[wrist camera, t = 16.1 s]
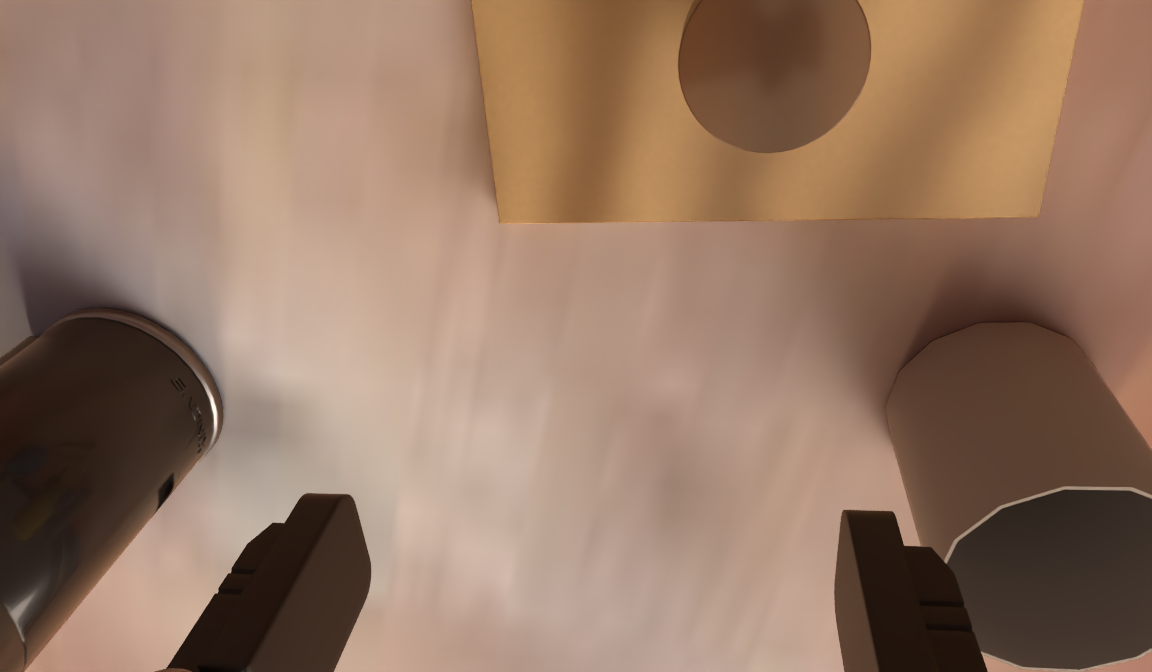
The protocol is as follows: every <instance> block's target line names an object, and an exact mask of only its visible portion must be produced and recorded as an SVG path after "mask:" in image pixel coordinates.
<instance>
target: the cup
mask: <svg viewBox="0 0 1152 672" xmlns="http://www.w3.org/2000/svg"><path fill="white" fill-rule="evenodd" d="M885 409H886V414H887V420H888V425H889V430H890V435H891V440H892V444H893V448H894V451H895V455H896V458H897V462H898V466H899V469H900V473H901V476H902V480H903V484H904V487H905V491H906V494H907V498H908V502H909V505H910V509H911V512H912V516H913V520H914V523H915V527H916V530H917V534H918V538H919V541H920V545H921V547H932V548H933V550H934V551H935V552H936V553H937V554H938V555H939V556H940V557H941V559H942V560H943V561H944V562H945V563H946V564H947V565H948V566H949V568H950V569H951V570H952V571H953V572H954V573H955V576H956V579H957V582H958V585H959V588H960V591H961V594H962V597H963V600H964V607H965V608H966V609H967V612H968V615H969V618H970V621H971V624H972V631H973V632H974V633H975V636H976V639H977V642H978V645H979V648H980V651H981V654H982V655H985V656H987V657H990V658H993V659H995V660H998V661H1001V662H1003V663H1006V664H1008V665H1011V666H1014V667H1016V668H1019V669H1027V670H1047V671H1067V672H1082V671H1087V670H1091V669H1096V668H1100V667H1105V666H1109V665H1113V664H1118V663H1122V662H1127V661H1131V660H1135V659H1139V658H1141V657H1143V656H1144V655H1146V654H1148V653H1150V652H1151V651H1152V449H1151V448H1150V446H1149V445H1148V444H1147V442H1146V441H1145V439H1144V438H1143V436H1142V435H1141V433H1140V432H1139V431H1138V429H1137V428H1136V426H1135V425H1134V423H1133V422H1132V420H1131V419H1130V418H1129V416H1128V415H1127V413H1126V412H1125V410H1124V409H1123V407H1122V406H1121V405H1120V403H1119V402H1118V400H1117V399H1116V397H1115V396H1114V394H1113V393H1112V392H1111V390H1110V389H1109V387H1108V386H1107V384H1106V383H1105V381H1104V380H1103V378H1102V377H1101V376H1100V374H1099V373H1098V371H1097V370H1096V369H1095V367H1094V366H1093V365H1092V364H1091V362H1090V361H1089V360H1088V359H1087V357H1086V356H1085V355H1084V354H1083V352H1082V351H1081V350H1080V349H1079V347H1078V346H1077V345H1076V344H1075V342H1074V341H1073V340H1072V339H1070V338H1068V337H1065V336H1063V335H1060V334H1058V333H1055V332H1053V331H1051V330H1048V329H1046V328H1043V327H1041V326H1038V325H1036V324H1033V323H1031V322H999V323H977V324H975V325H972V326H969V327H967V328H964V329H962V330H959V331H956V332H954V333H951V334H949V335H946V336H943V337H941V338H938V339H936V340H933V341H931V342H930V343H929V344H928V345H927V346H926V347H925V348H924V349H923V350H922V351H921V352H919V353H918V354H917V355H916V356H915V357H914V358H913V359H912V360H911V361H910V362H909V363H907V364H906V365H905V366H904V367H903V368H902V369H901V370H900V371H899V372H898V375H897V378H896V380H895V383H894V385H893V388H892V391H891V393H890V396H889V398H888V401H887V403H886V406H885Z"/></svg>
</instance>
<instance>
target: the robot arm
mask: <svg viewBox="0 0 1152 672" xmlns="http://www.w3.org/2000/svg"><path fill="white" fill-rule="evenodd" d="M222 424H223V408H222V402H221V398H220V395H219V392H218V389H217V387H216V384H215V382H214V380H213V378H212V377H211V375H210V373H209V372H208V370H207V369H206V367H205V366H204V365H203V363H202V362H201V361H200V359H199V358H198V357H197V356H196V355H195V354H194V353H193V352H192V351H191V350H190V349H189V348H188V347H187V346H186V345H185V344H184V343H183V342H182V341H181V340H179V339H178V338H177V337H175V336H174V335H173V334H171V333H170V332H168V331H167V330H165V329H164V328H162V327H160V326H159V325H157V324H155V323H153V322H151V321H149V320H147V319H145V318H142V317H140V316H137V315H134V314H131V313H128V312H124V311H120V310H114V309H107V308H90V309H83V310H79V311H75V312H72V313H70V314H67V315H66V316H64V317H62V318H60V319H59V320H58V321H56V322H55V323H54V324H52V325H51V326H50V327H49V328H47V329H46V330H45V331H44V332H43V333H42V334H41V336H30V337H28V338H27V339H26V340H24V341H23V342H21V343H20V344H19V345H17V346H16V347H15V348H13V349H12V350H11V351H9V352H8V353H7V354H5V355H4V356H2V357H1V358H0V672H25V670H26V669H27V668H28V667H29V665H30V664H31V663H32V662H33V661H34V659H35V658H36V657H37V656H38V655H39V653H40V652H41V651H42V650H43V648H44V647H45V646H46V645H47V644H48V642H49V641H50V640H51V639H52V638H53V636H54V635H55V634H56V633H57V632H58V630H59V629H60V628H61V627H62V625H63V624H64V623H65V622H66V621H67V619H68V618H69V617H70V616H71V615H72V613H73V612H74V611H75V610H76V608H77V607H78V606H79V605H80V604H81V602H82V601H83V600H84V599H85V598H86V596H87V595H88V594H89V593H90V591H91V590H92V589H93V588H94V587H95V585H96V584H97V583H98V582H99V581H100V579H101V578H102V577H103V576H104V575H105V573H106V572H107V571H108V570H109V568H110V567H111V566H112V565H113V564H114V562H115V561H116V560H117V559H118V558H119V556H120V555H121V554H122V553H123V551H124V550H125V549H126V548H127V547H128V545H129V544H130V543H131V542H132V541H133V539H134V538H135V537H136V536H137V534H138V533H139V532H140V531H141V530H142V528H143V527H144V526H145V525H146V524H147V522H148V521H149V520H150V519H151V518H152V516H153V515H154V514H155V513H156V511H157V510H158V509H159V508H160V507H161V505H162V504H163V503H164V502H165V501H166V499H167V498H168V497H169V496H170V495H171V494H172V492H173V491H174V490H175V489H176V487H177V486H178V485H179V484H180V483H181V481H182V480H183V479H184V478H185V477H186V475H187V474H188V473H189V472H190V470H191V469H192V468H193V467H194V466H195V464H197V463H198V462H199V461H201V460H202V459H203V458H204V457H205V456H206V454H207V453H208V452H209V451H210V450H211V448H212V447H213V446H214V444H215V443H216V441H217V440H218V438H219V435H220V432H221V429H222ZM175 492H176V491H175ZM161 509H162V508H161ZM370 582H371V562H370V557H369V554H368V550H367V546H366V542H365V538H364V535H363V531H362V527H361V523H360V520H359V516H358V512H357V508H356V505H355V501H354V499H353V498H352V497H351V496H350V495H348V494H316V493H307V494H304V495H303V496H302V497H301V498H300V499H299V501H298V502H297V504H296V505H295V507H294V509H293V510H292V512H291V513H290V515H289V517H288V518H287V520H286V522H285V523H272V524H271V525H270V526H268V527H267V528H266V529H265V530H264V531H262V532H261V533H260V534H259V535H258V536H256V537H255V538H254V539H253V540H252V541H250V542H249V543H248V544H247V545H246V547H245V549H244V550H243V552H242V553H241V555H240V556H239V558H238V559H237V561H236V562H235V564H234V565H233V567H232V572H231V574H230V573H228V575H227V576H226V578H225V579H224V581H223V582H222V584H221V585H220V587H219V588H218V589H219V592H218V594H215V595H214V596H213V598H212V599H211V601H210V602H209V604H208V605H207V607H206V608H205V610H204V612H203V613H202V615H201V616H200V618H199V619H198V621H197V622H196V624H195V625H194V627H193V628H192V630H191V632H190V633H189V635H188V636H187V638H186V639H185V641H184V642H183V644H182V645H181V647H180V648H179V650H178V652H177V653H176V655H175V656H174V658H173V659H172V661H171V662H170V664H169V665H168V667H167V668H166V669H163V670H159V671H155V672H334V670H335V668H336V665H337V663H338V661H339V659H340V656H341V654H342V652H343V650H344V647H345V645H346V643H347V641H348V638H349V636H350V634H351V632H352V630H353V627H354V625H355V623H356V621H357V618H358V616H359V614H360V612H361V609H362V607H363V605H364V603H365V600H366V598H367V595H368V592H369V588H370ZM834 595H835V614H836V622H837V629H838V635H839V641H840V647H841V653H842V659H843V665H844V671H845V672H988V671H987V668H986V665H985V663H984V660H983V657H982V654H981V651H980V648H979V645H978V642H977V639H976V636H975V633H974V632H973V631H972V624H971V621H970V618H969V615H968V612H967V609H966V608H965V607H964V600H963V597H962V594H961V591H960V588H959V585H958V582H957V579H956V576H955V573H954V572H953V571H952V570H951V569H950V568H949V566H948V565H947V564H946V563H945V562H944V561H943V560H942V559H941V557H940V556H939V555H938V554H937V553H936V552H935V551H934V550H933V548H932V547H918V546H904V544H903V541H902V537H901V534H900V530H899V526H898V523H897V519H896V516H895V514H894V513H893V512H892V511H862V510H843V512H842V516H841V523H840V534H839V544H838V554H837V564H836V574H835V590H834Z"/></svg>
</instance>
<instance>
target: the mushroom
mask: <svg viewBox="0 0 1152 672" xmlns="http://www.w3.org/2000/svg"><path fill="white" fill-rule="evenodd" d="M870 61H871V37H870V30H869V26H868V22H867V19H866V16H865V14H864V11H863V9H862V7H861V5H860V4H859V2H858V0H694V2H693V3H692V5H691V7H690V10H689V12H688V14H687V17H686V20H685V23H684V27H683V32H682V37H681V42H680V48H679V54H678V73H679V81H680V86H681V90H682V93H683V96H684V98H685V101H686V103H687V105H688V107H689V109H690V111H691V112H692V114H693V115H694V117H695V118H696V120H697V121H698V122H699V123H700V124H701V125H702V126H703V127H704V128H705V130H707V131H708V132H709V133H710V134H712V135H713V136H714V137H716V138H717V139H719V140H720V141H722V142H724V143H726V144H728V145H730V146H732V147H735V148H738V149H741V150H745V151H750V152H756V153H777V152H784V151H789V150H793V149H796V148H799V147H802V146H805V145H807V144H809V143H811V142H813V141H815V140H817V139H819V138H820V137H822V136H823V135H825V134H827V133H828V132H829V131H830V130H832V129H833V128H834V127H835V126H836V125H837V124H838V123H839V122H840V121H841V120H842V119H843V118H844V117H845V116H846V115H847V114H848V112H849V111H850V110H851V108H852V107H853V106H854V104H855V102H856V101H857V99H858V97H859V96H860V94H861V91H862V89H863V87H864V85H865V82H866V79H867V75H868V72H869V67H870Z"/></svg>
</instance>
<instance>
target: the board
mask: <svg viewBox="0 0 1152 672" xmlns="http://www.w3.org/2000/svg"><path fill="white" fill-rule="evenodd" d="M693 2H694V0H471V5H472V13H473V20H474V28H475V36H476V44H477V52H478V59H479V67H480V75H481V83H482V91H483V99H484V106H485V114H486V122H487V130H488V138H489V146H490V153H491V161H492V169H493V177H494V185H495V192H496V200H497V208H498V216H499V223H500V224H522V223H605V222H689V221H773V220H857V219H940V218H1024V217H1038V216H1039V212H1040V208H1041V203H1042V198H1043V193H1044V189H1045V184H1046V179H1047V175H1048V170H1049V165H1050V160H1051V156H1052V151H1053V146H1054V141H1055V137H1056V132H1057V127H1058V122H1059V118H1060V113H1061V108H1062V103H1063V99H1064V94H1065V89H1066V84H1067V80H1068V75H1069V70H1070V65H1071V61H1072V56H1073V51H1074V46H1075V42H1076V37H1077V32H1078V27H1079V23H1080V18H1081V13H1082V8H1083V4H1084V0H858V2H859V4H860V5H861V7H862V9H863V11H864V14H865V16H866V19H867V22H868V26H869V30H870V37H871V61H870V67H869V72H868V75H867V79H866V82H865V85H864V87H863V89H862V91H861V94H860V96H859V97H858V99H857V101H856V102H855V104H854V106H853V107H852V108H851V110H850V111H849V112H848V114H847V115H846V116H845V117H844V118H843V119H842V120H841V121H840V122H839V123H838V124H837V125H836V126H835V127H834V128H833V129H832V130H830V131H829V132H828V133H827V134H825V135H823V136H822V137H820V138H819V139H817V140H815V141H813V142H811V143H809V144H807V145H805V146H802V147H799V148H796V149H793V150H789V151H784V152H777V153H756V152H750V151H745V150H741V149H738V148H735V147H732V146H730V145H728V144H726V143H724V142H722V141H720V140H719V139H717V138H716V137H714V136H713V135H712V134H710V133H709V132H708V131H707V130H705V128H704V127H703V126H702V125H701V124H700V123H699V122H698V121H697V120H696V118H695V117H694V115H693V114H692V112H691V111H690V109H689V107H688V105H687V103H686V101H685V98H684V96H683V93H682V90H681V86H680V81H679V73H678V54H679V48H680V42H681V37H682V32H683V27H684V23H685V20H686V17H687V14H688V12H689V10H690V7H691V5H692V3H693Z"/></svg>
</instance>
